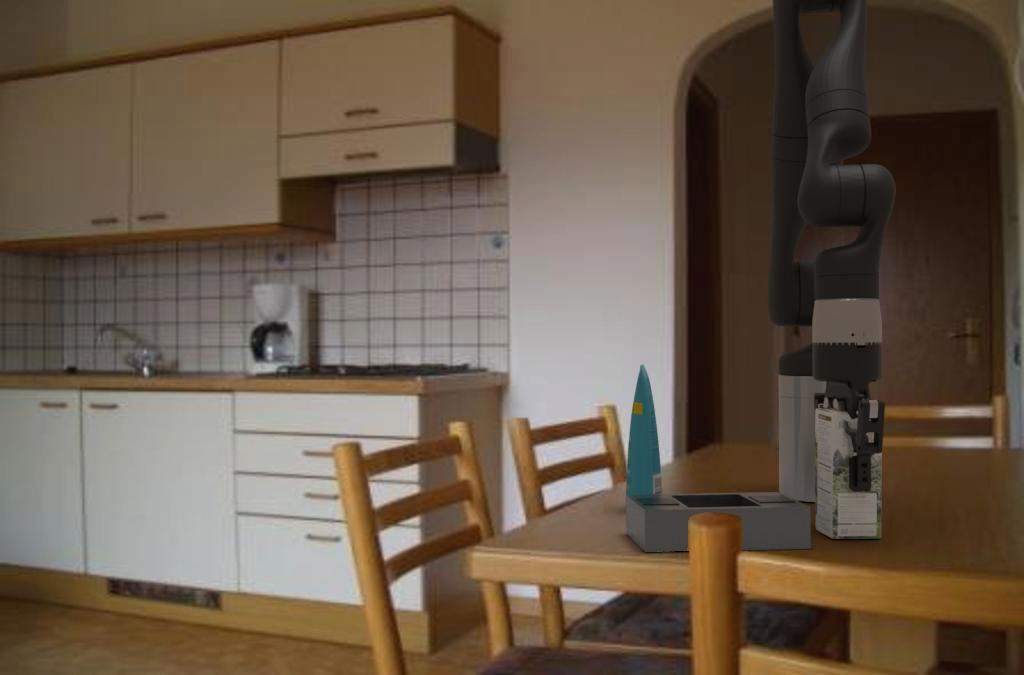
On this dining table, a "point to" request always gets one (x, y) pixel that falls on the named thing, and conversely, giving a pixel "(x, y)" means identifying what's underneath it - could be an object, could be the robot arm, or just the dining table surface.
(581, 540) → the dining table surface
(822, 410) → the syrup box
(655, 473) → the tube
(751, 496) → the grey open box
